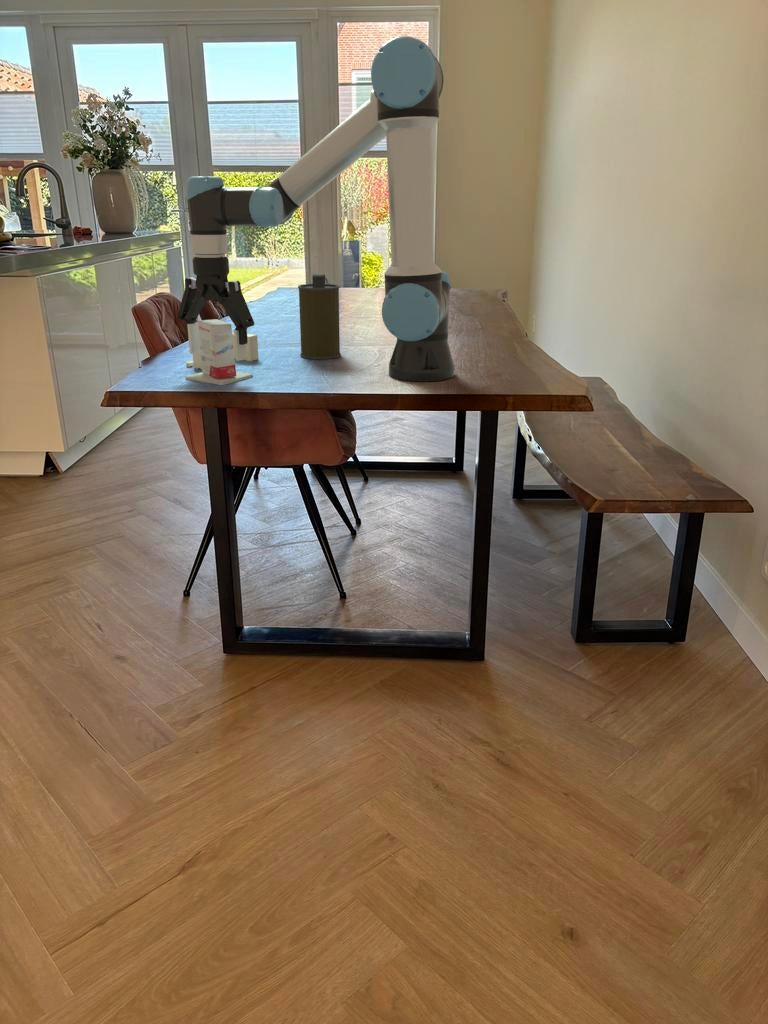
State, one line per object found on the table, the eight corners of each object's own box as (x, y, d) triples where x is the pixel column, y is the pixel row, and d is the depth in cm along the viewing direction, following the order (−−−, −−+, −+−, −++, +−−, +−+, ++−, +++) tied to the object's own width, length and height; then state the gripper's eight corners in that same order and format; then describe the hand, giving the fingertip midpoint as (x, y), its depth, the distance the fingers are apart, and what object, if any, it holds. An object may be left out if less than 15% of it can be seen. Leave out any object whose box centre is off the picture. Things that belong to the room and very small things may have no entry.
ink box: (237, 377, 170) (233, 323, 165) (215, 380, 167) (211, 325, 162) (221, 370, 176) (217, 318, 172) (200, 373, 174) (196, 320, 169)
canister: (339, 359, 192) (338, 277, 184) (298, 359, 192) (295, 276, 184) (341, 351, 202) (340, 272, 194) (302, 351, 202) (299, 272, 194)
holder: (258, 359, 192) (257, 335, 189) (212, 370, 179) (210, 345, 176) (233, 355, 196) (231, 331, 193) (186, 366, 183) (184, 341, 180)
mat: (252, 376, 173) (252, 374, 173) (222, 385, 165) (222, 382, 165) (216, 371, 178) (216, 368, 178) (185, 379, 170) (185, 376, 170)
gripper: (267, 257, 159) (272, 359, 167) (180, 252, 171) (189, 347, 179) (243, 259, 153) (249, 365, 161) (155, 254, 165) (165, 352, 173)
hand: (217, 356), depth 170 cm, fingers open, 13 cm apart
